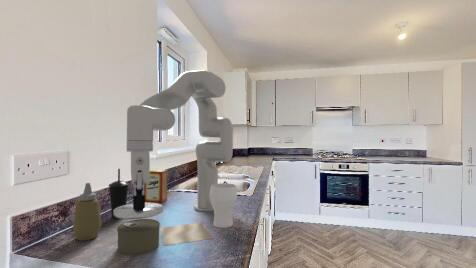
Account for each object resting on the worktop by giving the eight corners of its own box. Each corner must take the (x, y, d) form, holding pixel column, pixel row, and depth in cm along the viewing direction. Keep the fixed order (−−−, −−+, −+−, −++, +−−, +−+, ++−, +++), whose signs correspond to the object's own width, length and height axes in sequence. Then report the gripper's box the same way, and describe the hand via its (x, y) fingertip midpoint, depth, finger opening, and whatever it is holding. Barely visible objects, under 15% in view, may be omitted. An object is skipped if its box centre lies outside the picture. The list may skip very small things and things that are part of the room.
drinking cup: (120, 220, 101) (121, 170, 101) (103, 219, 102) (104, 169, 102) (132, 214, 108) (132, 167, 108) (116, 213, 110) (117, 167, 110)
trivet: (202, 223, 98) (202, 222, 98) (214, 239, 83) (214, 238, 83) (159, 228, 92) (159, 227, 92) (163, 246, 77) (163, 245, 77)
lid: (161, 204, 86) (161, 186, 86) (165, 216, 73) (165, 195, 73) (115, 207, 80) (115, 188, 81) (110, 221, 67) (111, 198, 68)
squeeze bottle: (81, 233, 88) (81, 181, 88) (105, 232, 88) (105, 180, 88) (67, 243, 79) (68, 185, 80) (94, 242, 80) (94, 185, 80)
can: (141, 260, 69) (142, 235, 69) (107, 253, 73) (107, 229, 73) (167, 243, 80) (167, 221, 80) (136, 237, 84) (136, 217, 84)
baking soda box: (167, 199, 134) (167, 169, 134) (161, 202, 128) (161, 171, 128) (150, 198, 136) (150, 168, 136) (144, 201, 129) (144, 170, 129)
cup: (240, 222, 100) (241, 184, 100) (231, 231, 90) (231, 189, 90) (216, 219, 104) (216, 182, 104) (204, 227, 93) (204, 187, 94)
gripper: (154, 147, 70) (153, 213, 70) (151, 145, 86) (150, 199, 86) (125, 147, 68) (123, 216, 67) (127, 145, 83) (126, 201, 83)
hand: (139, 206), depth 77 cm, fingers closed on lid, 3 cm apart
